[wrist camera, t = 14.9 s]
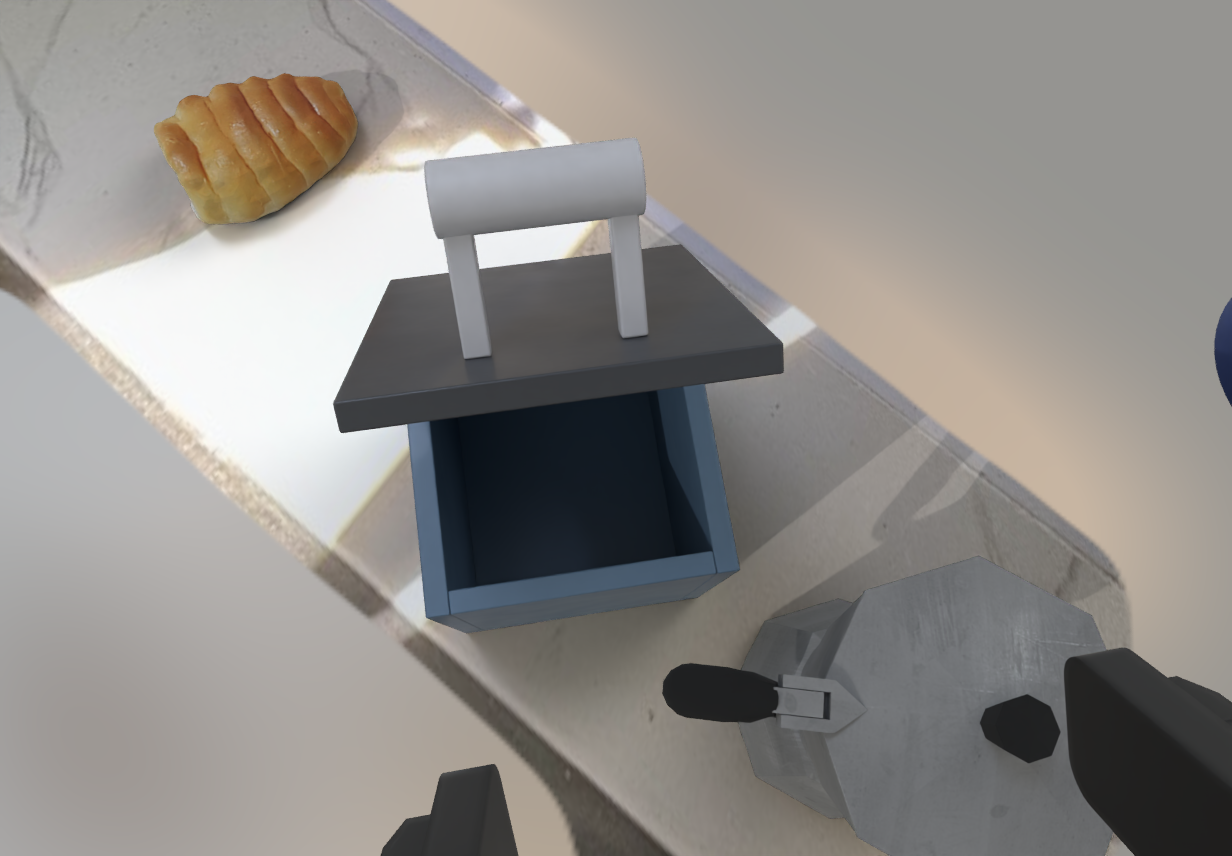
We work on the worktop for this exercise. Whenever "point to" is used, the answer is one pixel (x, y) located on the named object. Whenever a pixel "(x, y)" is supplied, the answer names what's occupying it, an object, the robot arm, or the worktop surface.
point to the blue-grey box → (570, 509)
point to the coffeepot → (918, 713)
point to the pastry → (256, 144)
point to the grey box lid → (546, 301)
